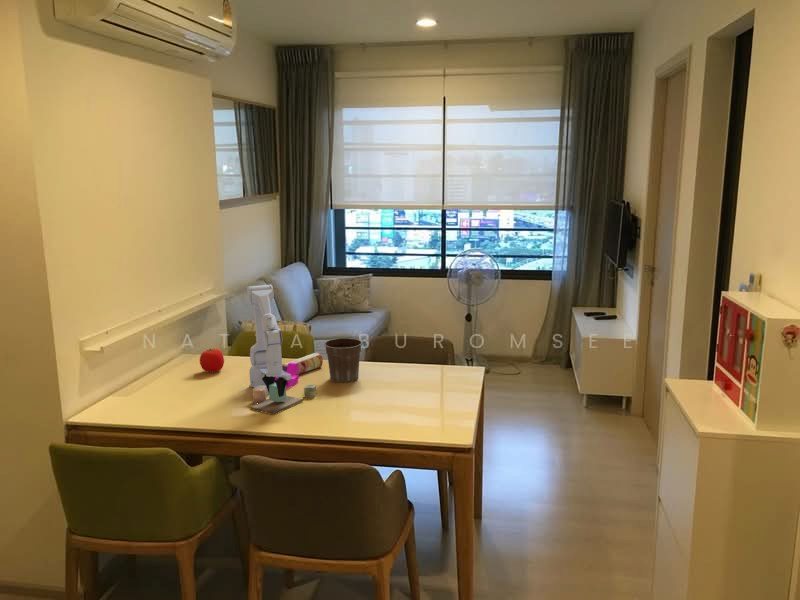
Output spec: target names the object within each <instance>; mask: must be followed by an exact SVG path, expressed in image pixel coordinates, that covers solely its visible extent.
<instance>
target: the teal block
mask: <svg viewBox="0 0 800 600" xmlns="http://www.w3.org/2000/svg"><path fill="white" fill-rule="evenodd" d="M268 394H269V395H268V397H269V398H268V399H270V400H271V401H276V402H280V401H282V400H285V399H286V396H287V389H286V387H285V391H284V396H282V397H279V395H278V389H277V385H276V383H273V384H271V385H269V392H268Z"/></svg>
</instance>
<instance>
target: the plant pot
mask: <svg viewBox="0 0 800 600" xmlns="http://www.w3.org/2000/svg"><path fill="white" fill-rule="evenodd" d="M362 345H363V341H362V340H361V339H357V338H350V337H342V338H334V339H329V340H326V341H325V342H324V347H325V352H326V354H327V363H328V370H329V378H330V380H331V381H332V382H335V383H337V381H338V382H339V383H341V382H345V383H346V382H347V383H351V381H352V382H354V381H355V382H356V381H357V380H358V379H359V371H360V369H359V368H360V358H361V357H360V356H361V355H360V353H361V350H362Z"/></svg>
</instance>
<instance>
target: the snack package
mask: <svg viewBox="0 0 800 600" xmlns="http://www.w3.org/2000/svg"><path fill="white" fill-rule="evenodd" d="M290 362H294V363H298V374H299V375H301V374H304V373H307V372H310V371H312V370H315V369H319V368H321V367H322V366H323V363H324V361H323V356H322V354H320V353H319V352H313V353H311V354H308V355H305V356H303V357H299V358H296V359H294V360H291V361H288V362H286V363H282V371H284V372H286V371H287V367H288V363H290Z"/></svg>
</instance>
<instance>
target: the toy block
mask: <svg viewBox="0 0 800 600" xmlns="http://www.w3.org/2000/svg"><path fill="white" fill-rule="evenodd" d="M289 362H290V361H289ZM287 363H288V362H287ZM286 373H288V374H291V379H290V380H288V382H287V384H286V390H288V389H290V388H292V387H294V386H295V385H296V383H297V384H299V383H298V382H299V378H300V377H299V376H300V374H299V375H298V363H294V362H290V363H288V367H287V371H286ZM277 379H279V378H277V377H275V380H277ZM274 383H275V382H274ZM291 386H292V387H291ZM289 387H290V388H289Z"/></svg>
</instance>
